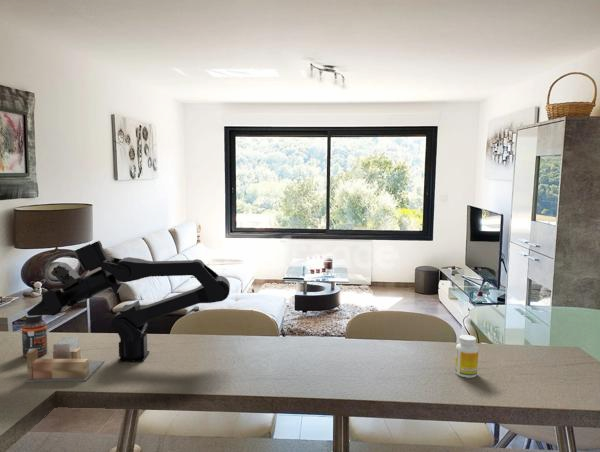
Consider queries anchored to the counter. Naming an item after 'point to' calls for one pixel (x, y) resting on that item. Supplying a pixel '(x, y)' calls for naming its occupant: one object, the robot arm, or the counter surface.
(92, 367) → the mat
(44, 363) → the block
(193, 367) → the counter surface
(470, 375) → the supplement bottle
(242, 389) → the counter surface
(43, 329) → the supplement bottle
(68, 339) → the rough concrete cube
